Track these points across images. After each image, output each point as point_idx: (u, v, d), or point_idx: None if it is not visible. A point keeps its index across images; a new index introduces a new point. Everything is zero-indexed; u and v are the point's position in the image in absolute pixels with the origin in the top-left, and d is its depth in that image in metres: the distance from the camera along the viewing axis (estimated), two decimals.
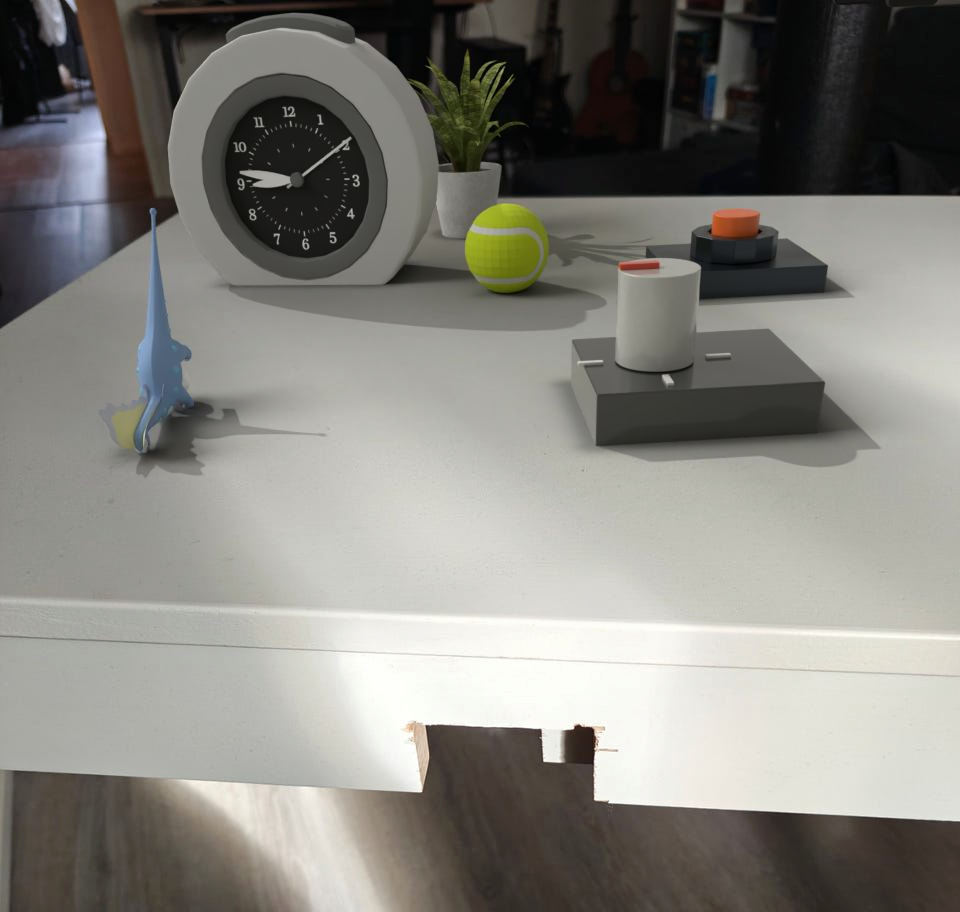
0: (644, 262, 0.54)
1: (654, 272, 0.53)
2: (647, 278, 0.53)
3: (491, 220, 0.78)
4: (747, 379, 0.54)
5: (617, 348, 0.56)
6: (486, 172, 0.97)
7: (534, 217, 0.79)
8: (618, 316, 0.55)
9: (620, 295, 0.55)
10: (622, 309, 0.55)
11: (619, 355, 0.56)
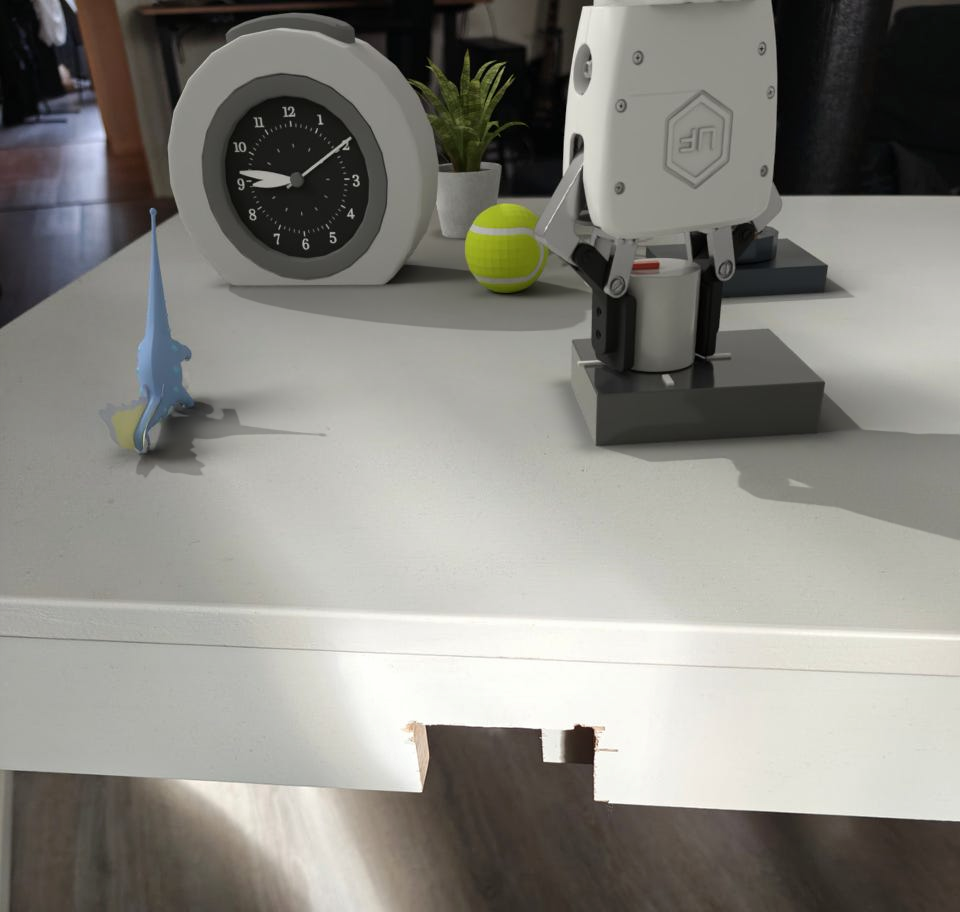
0: (644, 262, 0.54)
1: (654, 272, 0.53)
2: (647, 278, 0.53)
3: (491, 220, 0.78)
4: (747, 379, 0.54)
5: None
6: (486, 172, 0.97)
7: (534, 217, 0.79)
8: None
9: None
10: None
11: None
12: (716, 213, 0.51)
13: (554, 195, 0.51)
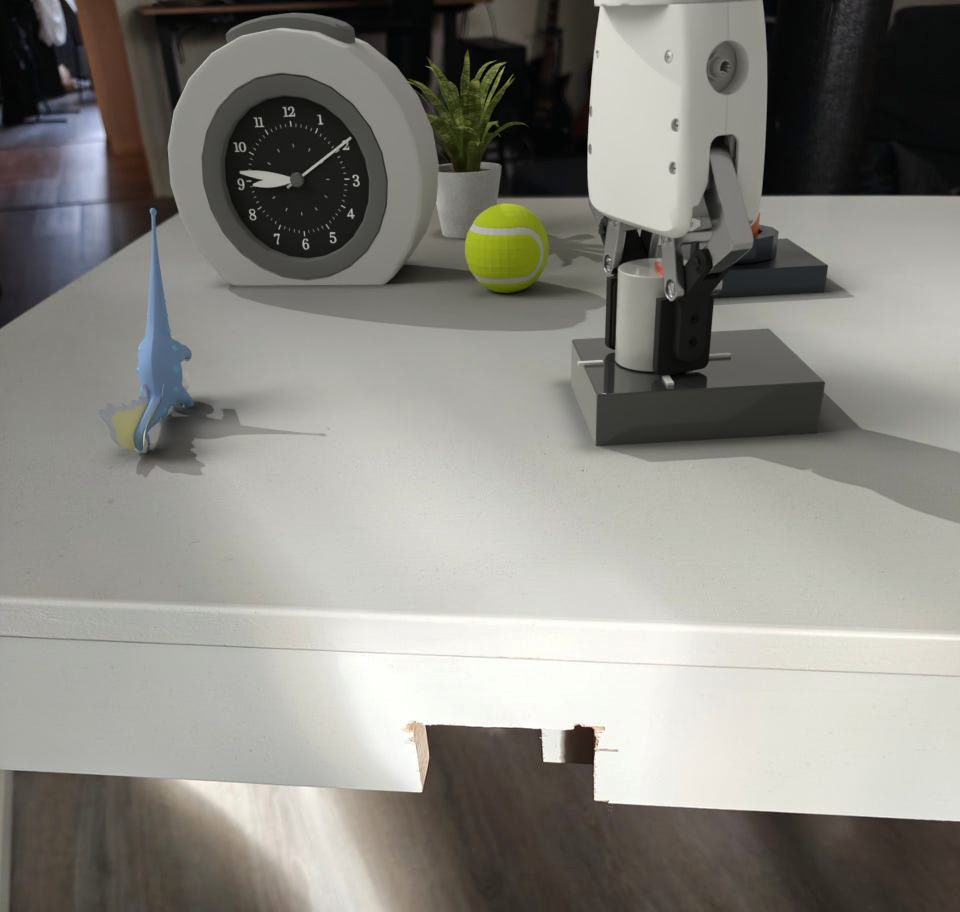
0: None
1: None
2: None
3: (491, 220, 0.78)
4: (747, 379, 0.54)
5: None
6: (486, 172, 0.97)
7: (534, 217, 0.79)
8: None
9: None
10: None
11: None
12: None
13: (725, 202, 0.47)
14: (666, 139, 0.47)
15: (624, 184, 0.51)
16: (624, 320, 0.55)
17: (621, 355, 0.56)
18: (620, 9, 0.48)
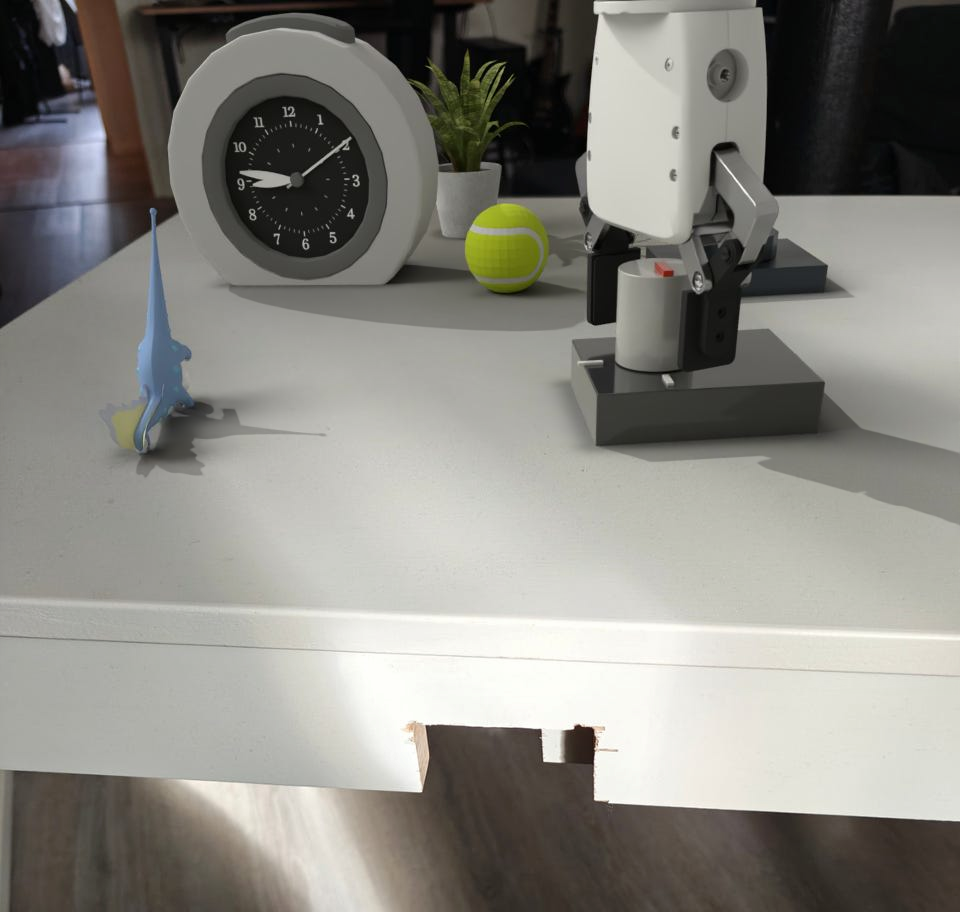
0: (664, 264, 0.53)
1: (682, 268, 0.54)
2: None
3: (491, 220, 0.78)
4: (747, 379, 0.54)
5: (669, 355, 0.55)
6: (486, 172, 0.97)
7: (534, 217, 0.79)
8: (671, 323, 0.54)
9: (675, 300, 0.53)
10: None
11: (674, 360, 0.55)
12: None
13: (739, 179, 0.46)
14: (667, 146, 0.47)
15: (624, 191, 0.52)
16: (624, 320, 0.55)
17: (621, 355, 0.56)
18: (620, 17, 0.48)
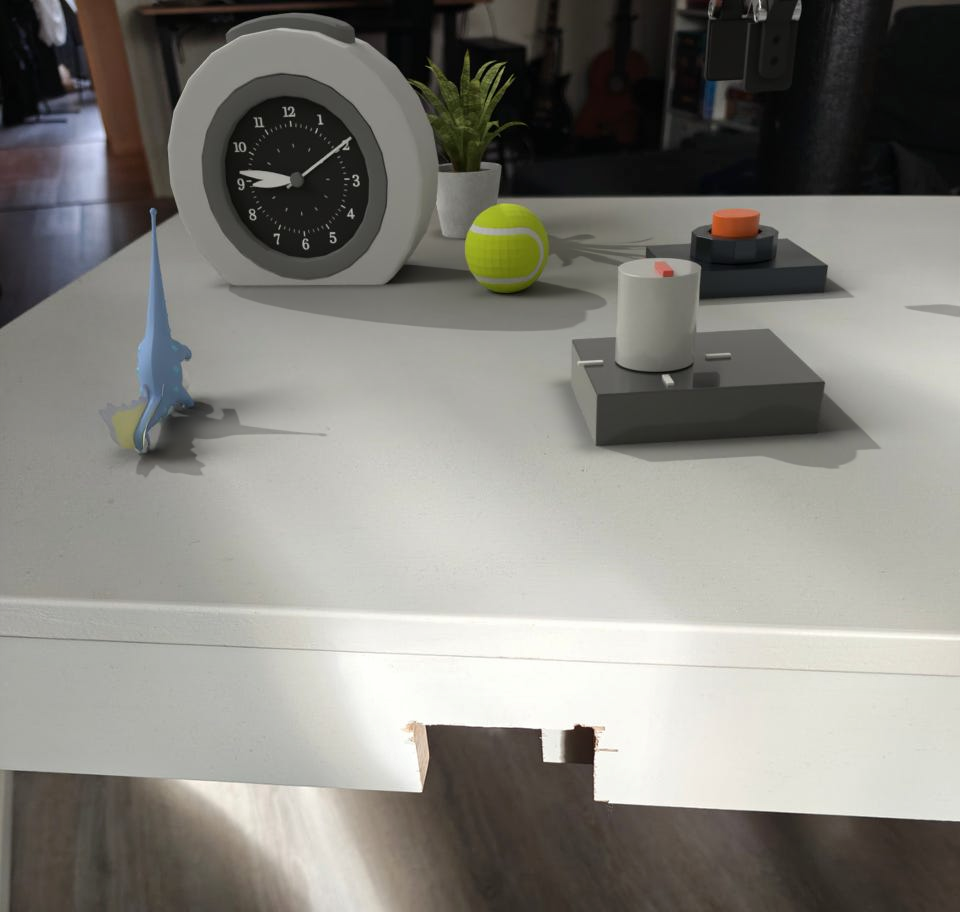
0: (664, 264, 0.53)
1: (682, 268, 0.54)
2: (700, 271, 0.54)
3: (491, 220, 0.78)
4: (747, 379, 0.54)
5: (669, 355, 0.55)
6: (486, 172, 0.97)
7: (534, 217, 0.79)
8: (671, 323, 0.54)
9: (675, 300, 0.53)
10: (680, 312, 0.54)
11: (674, 360, 0.55)
12: None
13: None
14: None
15: None
16: (624, 320, 0.55)
17: (621, 355, 0.56)
18: None
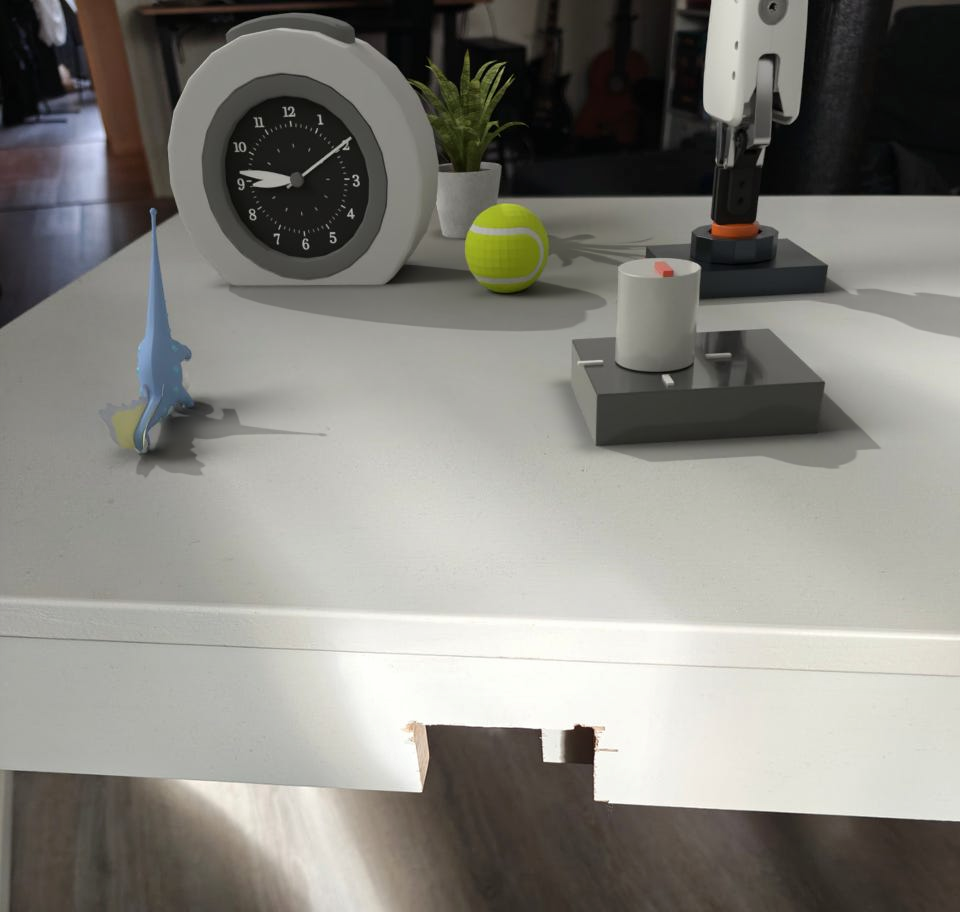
0: (664, 264, 0.53)
1: (682, 268, 0.54)
2: (700, 271, 0.54)
3: (491, 220, 0.78)
4: (747, 379, 0.54)
5: (669, 355, 0.55)
6: (486, 172, 0.97)
7: (534, 217, 0.79)
8: (671, 323, 0.54)
9: (675, 300, 0.53)
10: (680, 312, 0.54)
11: (674, 360, 0.55)
12: None
13: (758, 110, 0.71)
14: (732, 55, 0.71)
15: (714, 90, 0.75)
16: (624, 320, 0.55)
17: (621, 355, 0.56)
18: None
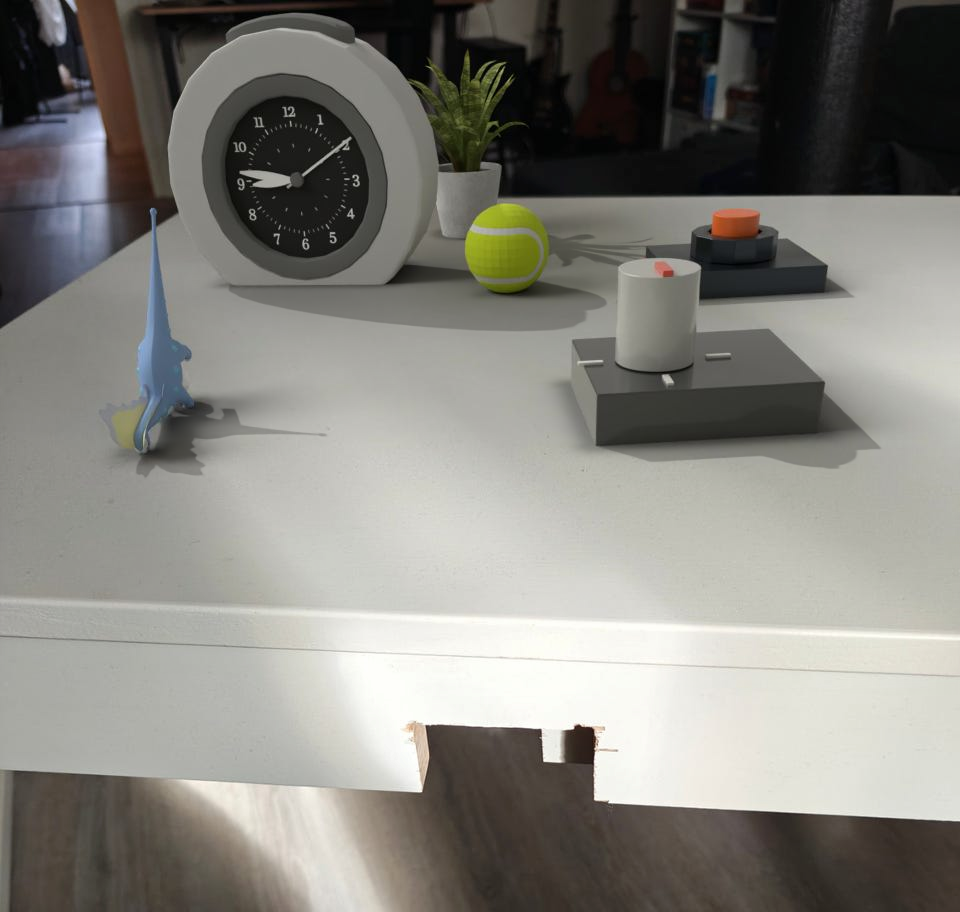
0: (664, 264, 0.53)
1: (682, 268, 0.54)
2: (700, 271, 0.54)
3: (491, 220, 0.78)
4: (747, 379, 0.54)
5: (669, 355, 0.55)
6: (486, 172, 0.97)
7: (534, 217, 0.79)
8: (671, 323, 0.54)
9: (675, 300, 0.53)
10: (680, 312, 0.54)
11: (674, 360, 0.55)
12: None
13: None
14: None
15: None
16: (624, 320, 0.55)
17: (621, 355, 0.56)
18: None
